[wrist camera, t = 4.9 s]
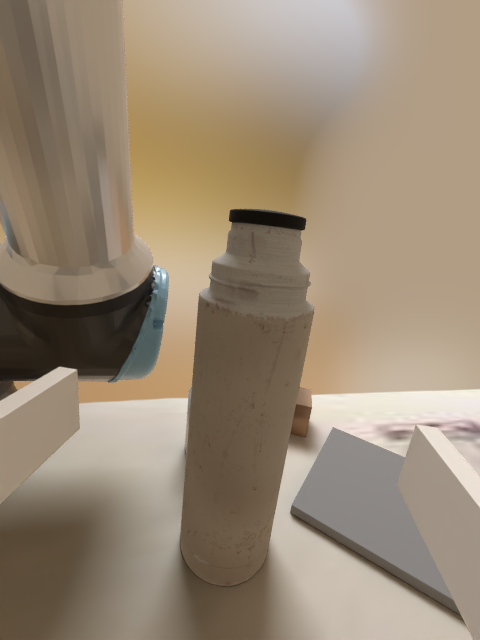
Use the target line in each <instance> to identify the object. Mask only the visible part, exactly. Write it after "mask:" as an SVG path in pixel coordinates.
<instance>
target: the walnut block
mask: <svg viewBox="0 0 480 640" xmlns="http://www.w3.org/2000/svg"><path fill="white" fill-rule="evenodd" d="M311 409H312V399H311V390H310V389H305V388H300V387H299V392H298V397H297V402H296V407H295V412H294V417H293V422H292V428H291V433H290V434H293V435H298V436H302V437H306V433H307V428H308V423H309V419H310V414H311Z"/></svg>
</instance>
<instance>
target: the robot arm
mask: <svg viewBox="0 0 480 640" xmlns="http://www.w3.org/2000/svg"><path fill="white" fill-rule="evenodd" d="M127 107H128V105H127V85H126V63H125V42H124V21H123V0H0V222H1V224H2V227H3V230H4V232H5V235H6V238H5V239H4V240H3V241H2V242H1V243H0V504H1V503H2V502H3V501H4V500H5V499H6V498H7V497H8V496H9V495H10V494H11V493H12V492H13V491H14V490H16V489H17V488H18V487H19V486H20V485H21V484H22V483H23V482H24V481H25V480H26V479H27V478H28V477H29V476H30V475H31V474H32V473H33V472H34V471H35V470H37V469H38V468H39V467H40V466H41V465H42V464H43V463H44V462H45V461H46V460H47V459H48V458H49V457H50V456H51V455H52V454H53V453H54V452H55V451H56V450H58V449H59V448H60V447H61V446H62V445H63V444H64V443H65V442H66V441H67V440H68V439H69V438H70V437H71V436H72V435H73V434H74V433H75V432H76V431H77V430H79V429H80V423H79V401H78V400H79V399H78V381H98V382H103V381H104V382H110V383H114V382H117V381H118V380H135V379H142V378H145V377H146V376H147V375H149V374H150V373H151V372H152V371H153V369H154V367H155V365H156V362H157V359H158V355H159V350H160V345H161V340H162V334H163V323H164V318H165V314H166V307H167V299H168V286H169V276H168V272H167V271H166V270H165V269H163V268H159V267H158V266H153V257H152V253H151V250H150V248H149V247H148V245H147V244H146V243H145V242H144V241H143V240H142V239H141V238H139V237H138V236H137V235H136V234H134V232H133V210H132V189H131V170H130V169H131V168H130V148H129V128H128V127H129V126H128V108H127ZM13 381H34V382H32V383H30V384H29V385H27V386H25V387H24V388H22V389H20V390H17V389H16V387H15V386H14V382H13ZM397 487H398V489H399V491H400V493H401V495H402V497H403V499H404V501H405V503H406V505H407V507H408V509H409V511H410V513H411V515H412V517H413V519H414V521H415V523H416V525H417V527H418V529H419V531H420V533H421V535H422V538H423V540H424V542H425V544H426V546H427V548H428V550H429V552H430V554H431V556H432V558H433V560H434V562H435V564H436V566H437V568H438V570H439V572H440V574H441V576H442V578H443V580H444V582H445V584H446V586H447V588H448V590H449V592H450V594H451V596H452V598H453V600H454V602H455V604H456V606H457V608H458V610H459V612H460V614H461V616H462V618H463V620H464V622H465V624H466V626H467V628H468V630H469V632H470V634H471V636H472V638H473V640H480V476H479V475H478V474H477V472H476V471H475V470H474V469H473V468H472V467H471V466H470V464H469V463H468V462H467V461H466V460H465V459H464V458H463V456H462V455H461V454H460V453H459V452H458V451H457V450H456V448H455V447H454V446H453V445H452V444H451V443H450V441H449V440H448V439H447V438H446V437H445V436H444V435H443V433H442V432H441V431H440V430H439V429H438V428H434V427H428V426H421V425H416V426H415V429H414V432H413V436H412V439H411V442H410V445H409V448H408V451H407V454H406V458H405V461H404V464H403V467H402V470H401V473H400V476H399V480H398V483H397Z"/></svg>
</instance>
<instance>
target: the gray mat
mask: <svg viewBox="0 0 480 640" xmlns="http://www.w3.org/2000/svg"><path fill="white" fill-rule="evenodd" d="M404 461H405V457H402V456H400V455H398V454H395V453H393V452H391V451H388V450H386V449H383V448H381V447H379V446H376V445H374V444H372V443H369V442H367V441H364V440H362V439H360V438H357V437H355V436H353V435H350V434H348V433H346V432H343V431H341V430H338V429H336V428H334V427H333V428H332V430H331V432H330V434H329V436H328V438H327V440H326V442H325V444H324V445H323V447H322V449H321V451H320V453H319V455H318V457H317V459H316V460H315V462H314V464H313V466H312V468H311V470H310V472H309V474H308V476H307V477H306V479H305V481H304V483H303V485H302V487H301V489H300V491H299V493H298V494H297V496H296V498H295V500H294V502H293V504H292V507H291V512H290V513H292V514H293V515H295V516H297V517H298V518H300V519H302V520H303V521H305V522H307V523H308V524H310V525H312V526H313V527H315V528H317V529H318V530H320V531H322V532H323V533H325V534H327V535H328V536H330V537H332V538H333V539H335V540H337V541H338V542H340V543H342V544H343V545H345V546H347V547H348V548H350V549H351V550H353V551H355V552H356V553H358V554H360V555H361V556H363V557H365V558H366V559H368V560H370V561H371V562H373V563H375V564H376V565H378V566H380V567H381V568H383V569H385V570H386V571H388V572H390V573H391V574H393V575H395V576H396V577H398V578H400V579H401V580H403V581H404V582H406V583H408V584H409V585H411V586H413V587H414V588H416V589H418V590H419V591H421V592H423V593H424V594H426V595H428V596H429V597H431V598H433V599H434V600H436V601H438V602H439V603H441V604H443V605H444V606H446V607H448V608H449V609H451V610H453V611H454V612H456V613H458V614H459V615H461V614H460V612H459V610H458V608H457V606H456V604H455V602H454V600H453V598H452V596H451V594H450V592H449V590H448V588H447V586H446V584H445V582H444V580H443V578H442V576H441V574H440V572H439V570H438V568H437V566H436V564H435V562H434V560H433V558H432V556H431V554H430V552H429V550H428V548H427V546H426V544H425V542H424V540H423V538H422V535H421V533H420V531H419V529H418V527H417V525H416V523H415V521H414V519H413V517H412V515H411V513H410V511H409V509H408V507H407V505H406V503H405V501H404V499H403V497H402V495H401V493H400V491H399V489H398V487H397V483H398V480H399V476H400V473H401V470H402V467H403V464H404Z"/></svg>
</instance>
